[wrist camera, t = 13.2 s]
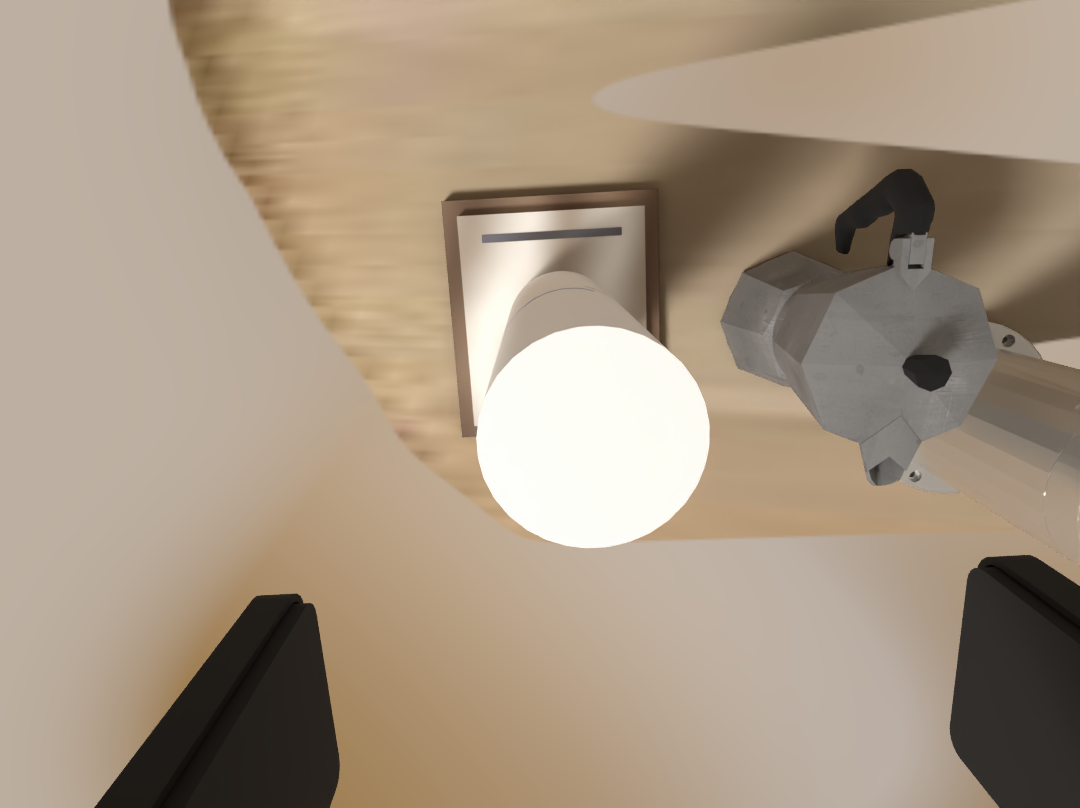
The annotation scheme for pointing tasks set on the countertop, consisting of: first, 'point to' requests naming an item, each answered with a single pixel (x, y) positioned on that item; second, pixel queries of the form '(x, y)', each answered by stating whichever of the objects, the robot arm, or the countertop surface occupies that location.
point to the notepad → (541, 266)
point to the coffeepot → (869, 333)
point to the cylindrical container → (588, 419)
